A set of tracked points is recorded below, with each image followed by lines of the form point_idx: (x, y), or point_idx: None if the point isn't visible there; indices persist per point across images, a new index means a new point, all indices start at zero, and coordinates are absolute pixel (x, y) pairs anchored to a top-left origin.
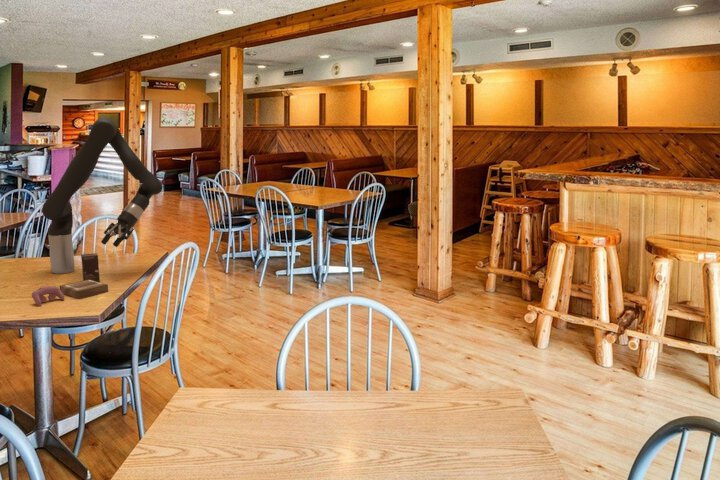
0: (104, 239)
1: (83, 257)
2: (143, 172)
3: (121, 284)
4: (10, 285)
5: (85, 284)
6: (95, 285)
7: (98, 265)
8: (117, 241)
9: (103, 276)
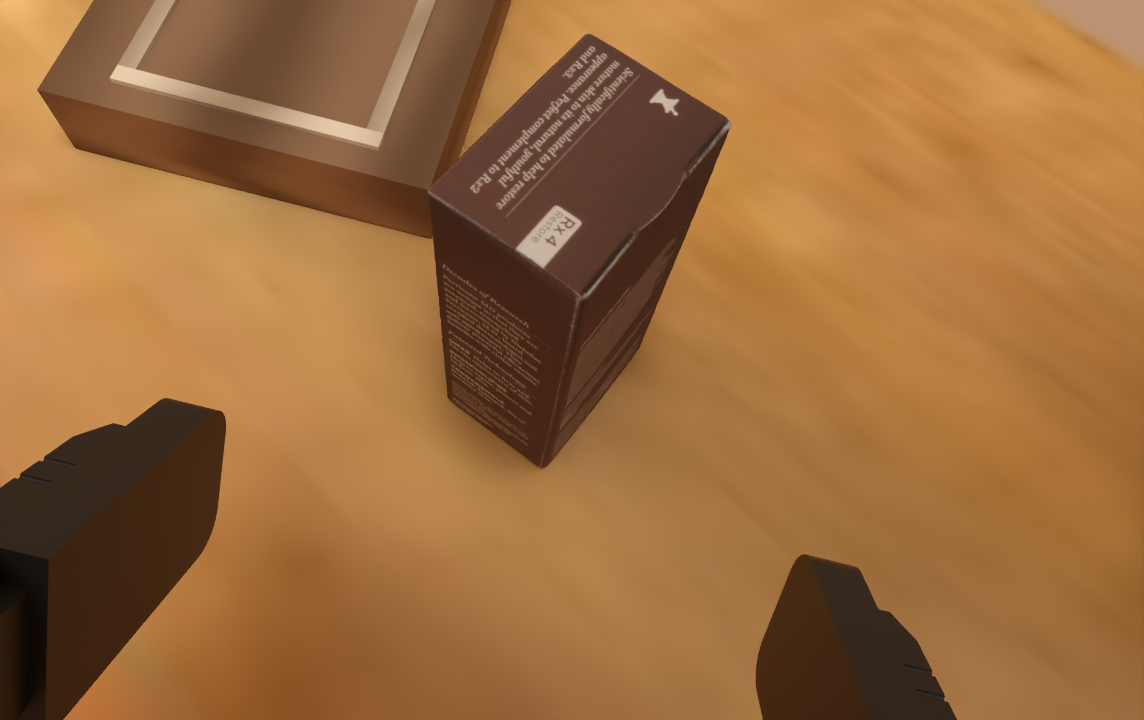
0: (824, 645)
1: (577, 49)
2: None
3: (105, 424)
4: (1105, 67)
5: (296, 28)
6: (146, 16)
7: (439, 293)
8: (42, 475)
9: (635, 657)
